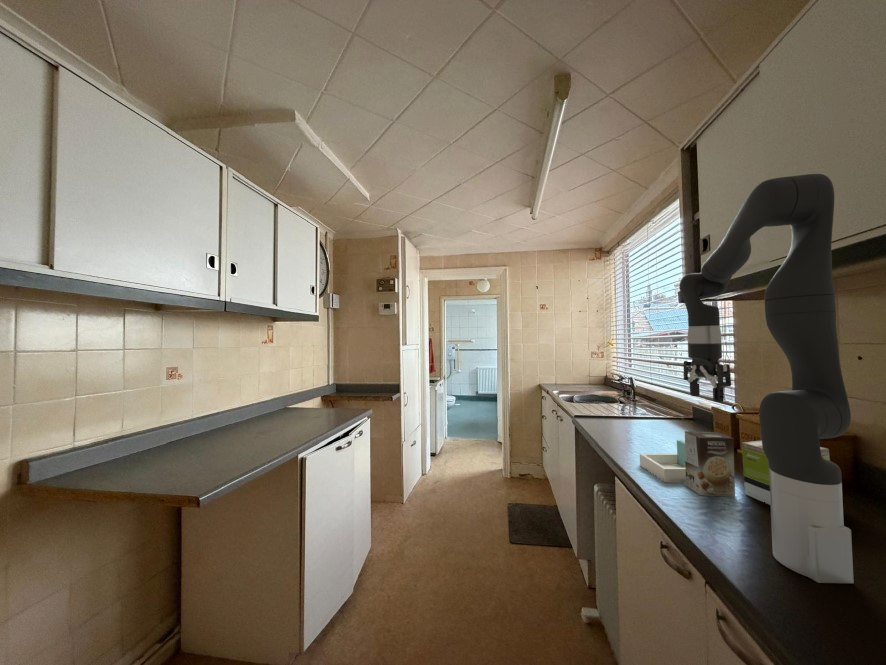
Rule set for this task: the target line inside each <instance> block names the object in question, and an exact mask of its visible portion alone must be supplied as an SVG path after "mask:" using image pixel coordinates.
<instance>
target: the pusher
mask: <svg viewBox="0 0 886 665" xmlns="http://www.w3.org/2000/svg"><path fill="white" fill-rule="evenodd" d="M676 454H677V461H678V464H680V465H682V466H684V467H685V440H682V439H677V440H676Z"/></svg>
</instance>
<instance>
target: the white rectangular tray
mask: <svg viewBox="0 0 886 665" xmlns="http://www.w3.org/2000/svg"><path fill="white" fill-rule="evenodd" d="M640 465H641V466H640ZM639 466H640V467H641V468H643V467H644V468H643V469H644V470H646V469H647V470H649V471H650V472H651V473H650V472H649V471H648V472H649V473H650V474H652V473H653V474H654V475H653V474H652V475H653V476H655V475H656V476H657V477H656V476H655V477H656V478H658V479H659V478H660V479H659V480H661V481H662V482H663V481H664V483H686V468H685V467H684V466H682V465H680V464H678V461H677V453H639ZM647 470H646V471H647Z"/></svg>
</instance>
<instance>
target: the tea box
mask: <svg viewBox="0 0 886 665" xmlns="http://www.w3.org/2000/svg"><path fill="white" fill-rule="evenodd" d="M820 450H821V455H822V457H823V459H826V460H829V461H831V458H830V449H829V448H827V447H823V446H820ZM741 454H742V467H743V482H744V483H743V485H744V486H743V487H744V493H745V495H746V496H747V497H751V498H753V499H756V500H757V501H760V502H762V503H764V502H765V503H764V504H767V505H769V506H771V502H770V477H769V462H768V459H767V457H766V455H765V453H764V451H763V447H762V439H760V440H755V441H744V442H741Z"/></svg>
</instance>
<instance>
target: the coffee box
mask: <svg viewBox="0 0 886 665" xmlns="http://www.w3.org/2000/svg"><path fill="white" fill-rule="evenodd" d="M684 441H685V468H686V482H685V486H686V487H687V488H689V489H690V490H692V491H693V492H694V493H696V494H698V495H699V496H708V497H709V496H710V497H732V498H733V497H736V489H735V488H736V485H735V484H736V482H735V480H736V478H735V452H734V451H735V450H734V449H735V447H734V446H735V444H734V437H731V436H729V435H726V434H723V433H720V432H717V431H687V430H686V431H684Z"/></svg>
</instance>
